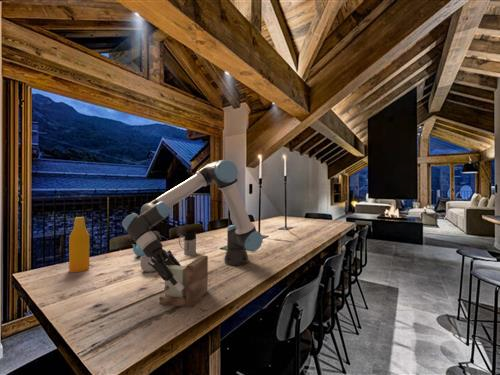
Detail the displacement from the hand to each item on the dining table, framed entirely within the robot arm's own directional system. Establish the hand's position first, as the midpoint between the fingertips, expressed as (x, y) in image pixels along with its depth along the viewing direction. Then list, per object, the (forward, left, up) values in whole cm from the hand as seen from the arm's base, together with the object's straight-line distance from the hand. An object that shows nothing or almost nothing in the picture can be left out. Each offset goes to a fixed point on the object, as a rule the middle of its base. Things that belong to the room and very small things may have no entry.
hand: (185, 287), depth 97 cm
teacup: (+27, -36, -6) cm, 45 cm away
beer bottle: (+67, -36, -6) cm, 76 cm away
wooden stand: (+1, -3, -6) cm, 6 cm away
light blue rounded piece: (+42, -61, -6) cm, 74 cm away
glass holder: (+14, -64, -6) cm, 66 cm away
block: (+4, -1, -4) cm, 6 cm away
